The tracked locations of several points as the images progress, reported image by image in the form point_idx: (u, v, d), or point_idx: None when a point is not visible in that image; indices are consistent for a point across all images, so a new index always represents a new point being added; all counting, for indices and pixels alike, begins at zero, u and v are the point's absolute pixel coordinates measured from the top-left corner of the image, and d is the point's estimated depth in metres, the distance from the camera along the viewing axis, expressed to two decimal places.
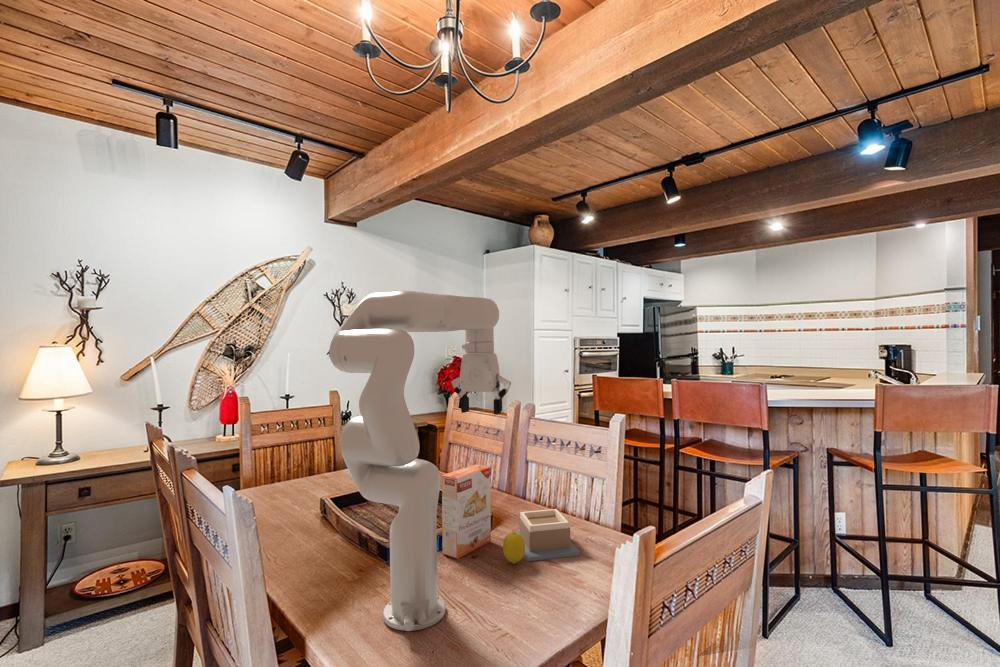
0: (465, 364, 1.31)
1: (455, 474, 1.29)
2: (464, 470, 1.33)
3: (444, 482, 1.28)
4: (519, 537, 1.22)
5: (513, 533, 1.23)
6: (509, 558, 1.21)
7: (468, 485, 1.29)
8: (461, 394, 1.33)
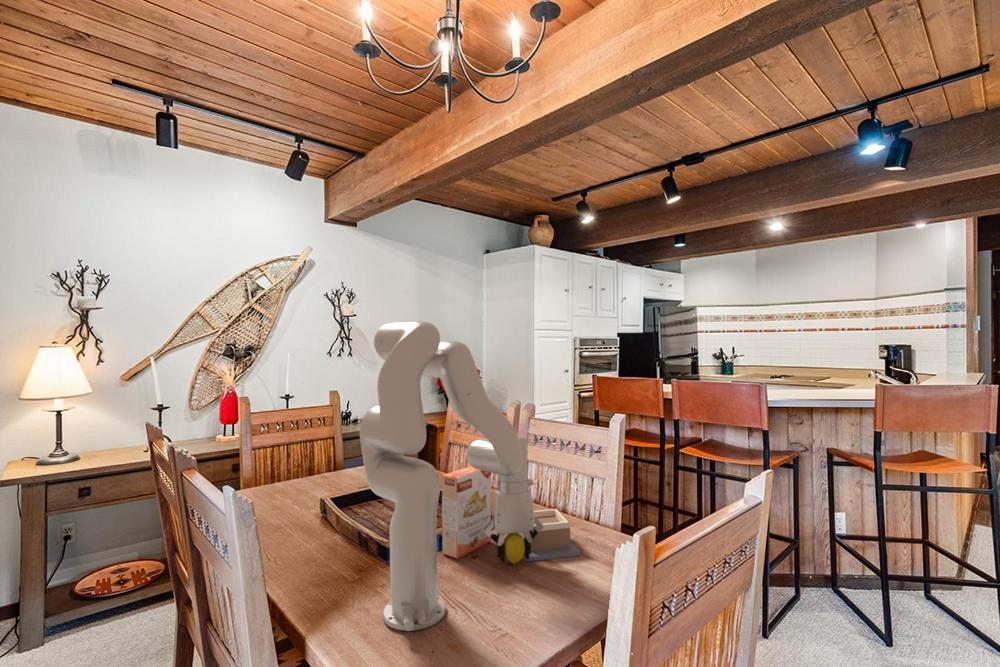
0: None
1: (455, 474, 1.29)
2: (464, 470, 1.33)
3: (444, 482, 1.28)
4: (519, 537, 1.22)
5: (513, 533, 1.23)
6: (509, 558, 1.21)
7: (468, 485, 1.29)
8: None
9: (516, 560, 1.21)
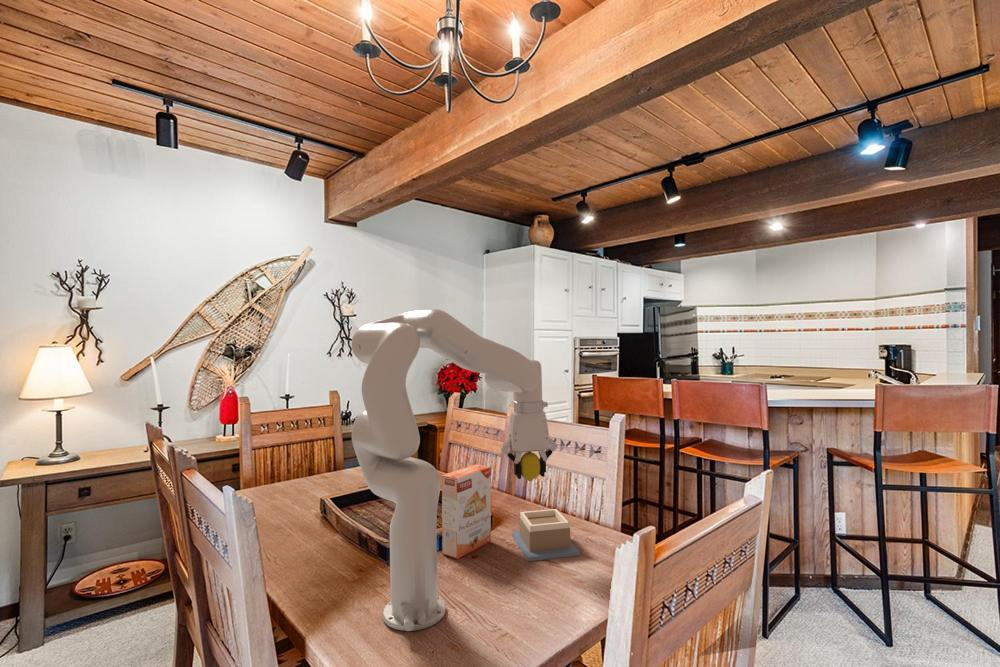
0: None
1: (455, 474, 1.29)
2: (464, 470, 1.33)
3: (444, 482, 1.28)
4: (535, 456, 1.28)
5: (529, 452, 1.29)
6: (526, 475, 1.27)
7: (468, 485, 1.29)
8: None
9: (532, 477, 1.27)
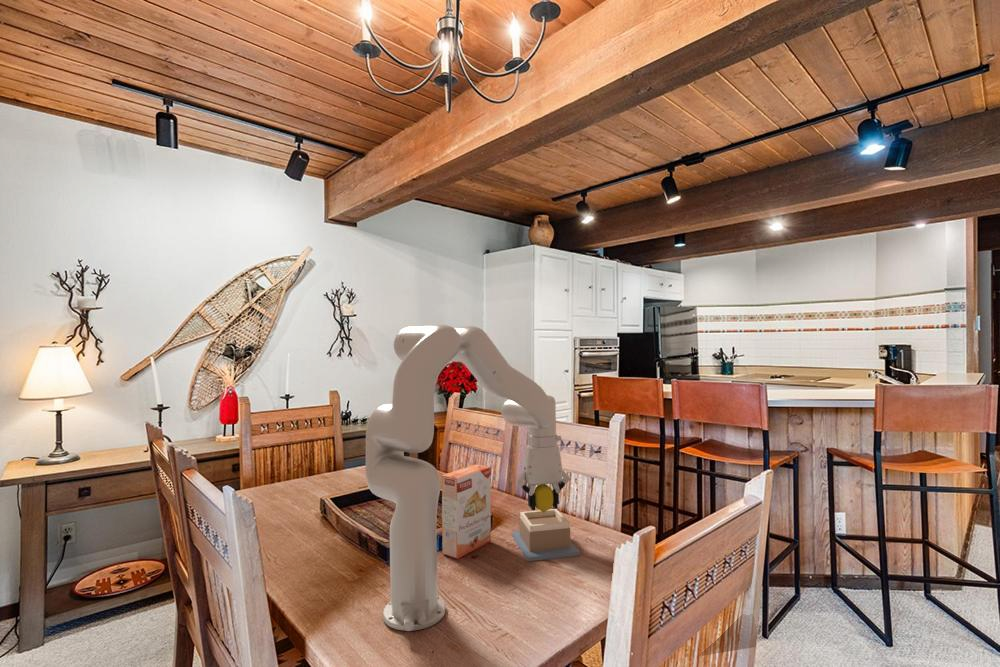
0: None
1: (455, 474, 1.29)
2: (464, 470, 1.33)
3: (444, 482, 1.28)
4: (548, 488, 1.33)
5: (543, 484, 1.34)
6: (540, 506, 1.32)
7: (468, 485, 1.29)
8: None
9: (546, 508, 1.32)
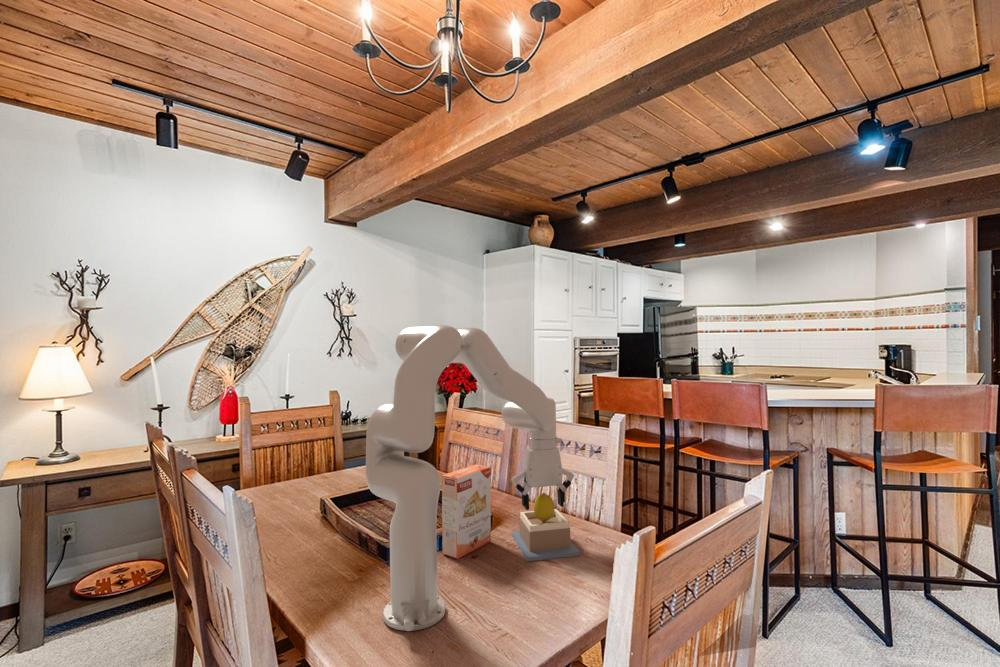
0: None
1: (455, 474, 1.29)
2: (464, 470, 1.33)
3: (444, 482, 1.28)
4: (549, 498, 1.33)
5: (543, 494, 1.34)
6: (540, 517, 1.32)
7: (468, 485, 1.29)
8: None
9: (546, 519, 1.32)
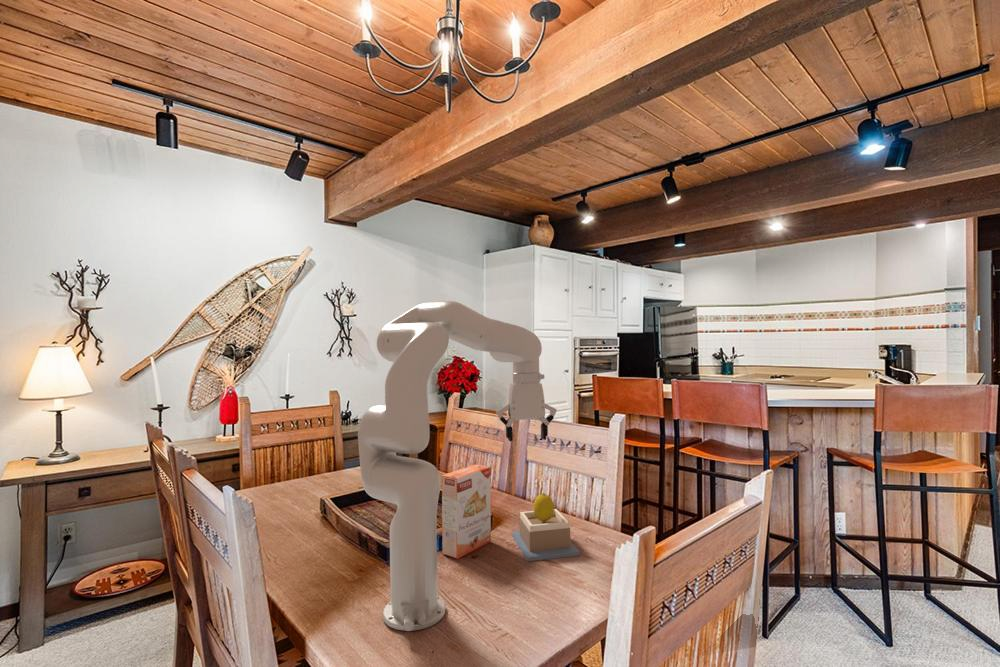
0: None
1: (455, 474, 1.29)
2: (464, 470, 1.33)
3: (444, 482, 1.28)
4: (548, 498, 1.33)
5: (543, 494, 1.34)
6: (540, 517, 1.32)
7: (468, 485, 1.29)
8: None
9: (546, 519, 1.32)
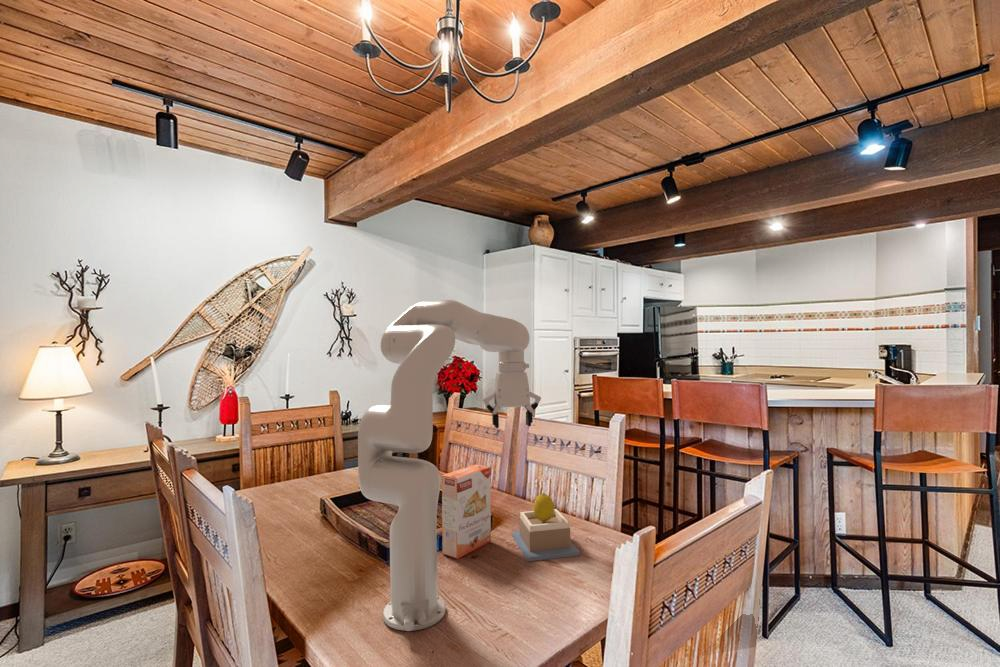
0: None
1: (455, 474, 1.29)
2: (464, 470, 1.33)
3: (444, 482, 1.28)
4: (548, 498, 1.33)
5: (543, 494, 1.34)
6: (540, 517, 1.32)
7: (468, 485, 1.29)
8: None
9: (546, 519, 1.32)
